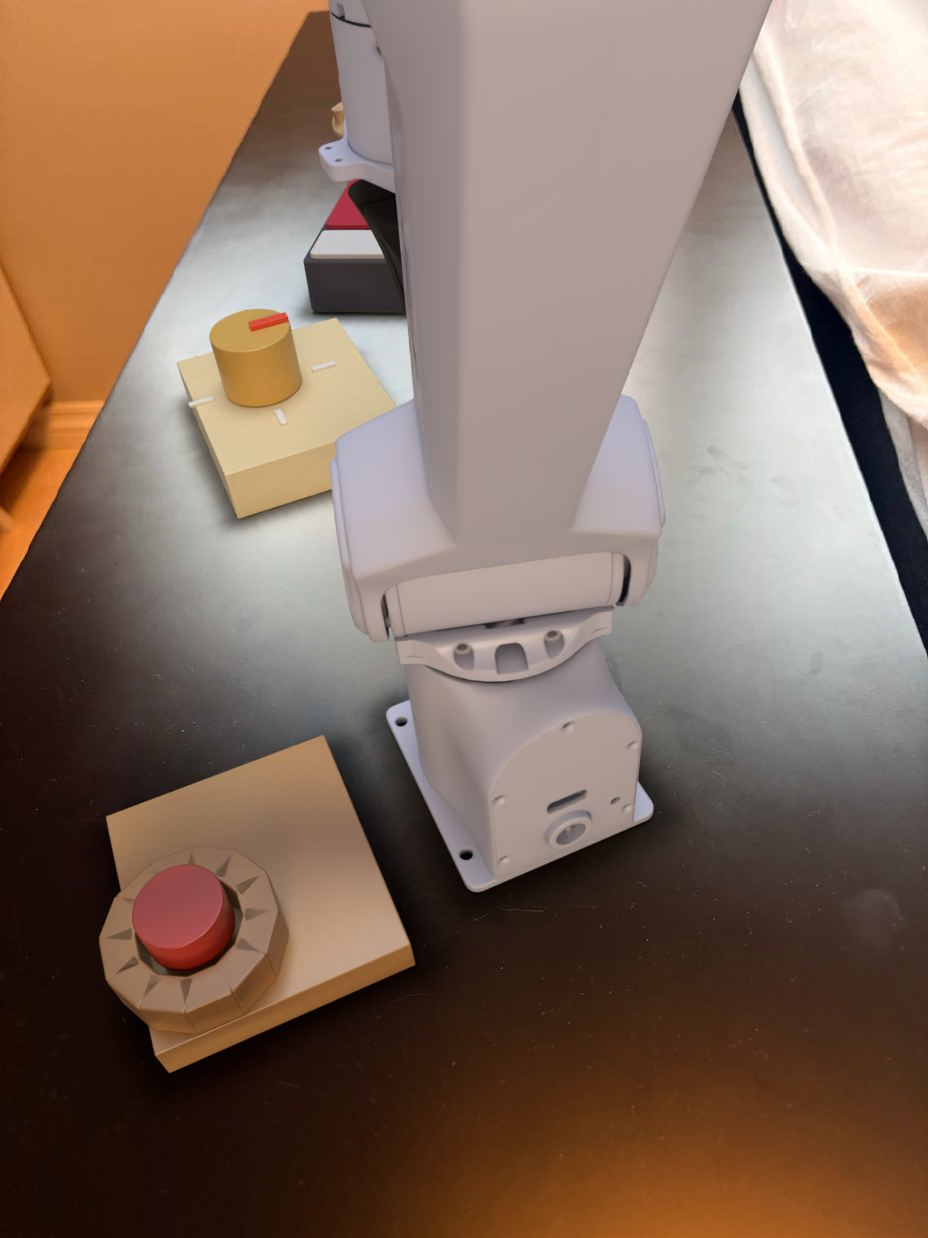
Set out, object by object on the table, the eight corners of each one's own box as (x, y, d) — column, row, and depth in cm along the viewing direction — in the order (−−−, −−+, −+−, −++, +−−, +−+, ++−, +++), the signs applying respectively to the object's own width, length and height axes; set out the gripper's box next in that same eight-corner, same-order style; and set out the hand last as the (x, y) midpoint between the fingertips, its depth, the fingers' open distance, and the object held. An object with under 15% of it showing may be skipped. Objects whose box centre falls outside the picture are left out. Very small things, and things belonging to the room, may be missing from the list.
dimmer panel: (411, 464, 55) (405, 417, 53) (232, 521, 53) (218, 474, 51) (343, 359, 63) (335, 314, 61) (185, 405, 61) (170, 360, 59)
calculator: (495, 162, 73) (467, 250, 63) (497, 220, 76) (471, 314, 66) (350, 163, 75) (298, 250, 64) (357, 220, 78) (310, 312, 67)
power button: (245, 949, 33) (233, 925, 32) (157, 987, 32) (140, 964, 31) (224, 876, 35) (211, 850, 34) (139, 909, 34) (124, 885, 33)
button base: (416, 965, 36) (405, 920, 33) (150, 1082, 33) (116, 1044, 31) (330, 757, 42) (315, 707, 40) (103, 844, 40) (72, 797, 37)
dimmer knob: (235, 415, 54) (217, 354, 52) (216, 375, 57) (199, 316, 55) (311, 393, 55) (298, 332, 53) (289, 355, 58) (276, 295, 55)
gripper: (244, -32, 38) (309, 293, 48) (374, 95, 29) (420, 463, 39) (416, -66, 39) (443, 256, 49) (591, 44, 30) (581, 411, 40)
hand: (443, 344), depth 44 cm, fingers closed
